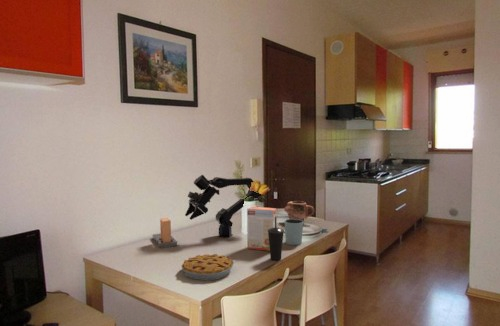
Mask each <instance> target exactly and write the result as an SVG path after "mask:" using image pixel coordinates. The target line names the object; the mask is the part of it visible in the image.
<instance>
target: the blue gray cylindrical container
mask: <svg viewBox="0 0 500 326" xmlns="http://www.w3.org/2000/svg"><path fill="white" fill-rule="evenodd" d="M304 224H305V221H304V222H303V220H300V219H289V218H286V219H284V233H285V235H284V236H285V244H286V245H290V246H299V245H301V244H302V241H303V231H304Z"/></svg>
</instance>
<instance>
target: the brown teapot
mask: <svg viewBox="0 0 500 326" xmlns="http://www.w3.org/2000/svg"><path fill="white" fill-rule="evenodd" d="M310 209H311V213H310V214H308V213H309V212H308V210H310ZM283 210H284V212H285V213H287V215H288V219H300V220H303V222H304V223H305V219H308V218H309V217H311V216H312V215H313V214H314V213H315V208H314V207H313V206H312V205H308V204H307V203H306V202H305V201H302V200H294V201H288V202H287V204H286V206H285V207H284V209H283Z"/></svg>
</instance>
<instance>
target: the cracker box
mask: <svg viewBox="0 0 500 326" xmlns="http://www.w3.org/2000/svg"><path fill="white" fill-rule="evenodd" d="M246 211H247V212H246V217H247V221H246V222H247V225H246V229H247V230H246V232H247V234H246V235H247V249H248V250H257V251H268V252H270V247H269V236H268V229H271V228H274V227H275V217H276V227H277V225H278V224H277V223H278V222H277V221H278V219H277V208H275V207H259V206H250V207H247V209H246ZM277 228H278V227H277Z"/></svg>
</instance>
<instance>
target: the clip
mask: <svg viewBox="0 0 500 326" xmlns="http://www.w3.org/2000/svg"><path fill="white" fill-rule="evenodd" d="M159 220H160V221H159V222H160V223H159V224H160V225H159V227H160V228H159V229H160V234H161V240H163V243H167V242H171V236H172V225H171V220H170V218H169V217H165V218H160V219H159Z"/></svg>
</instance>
